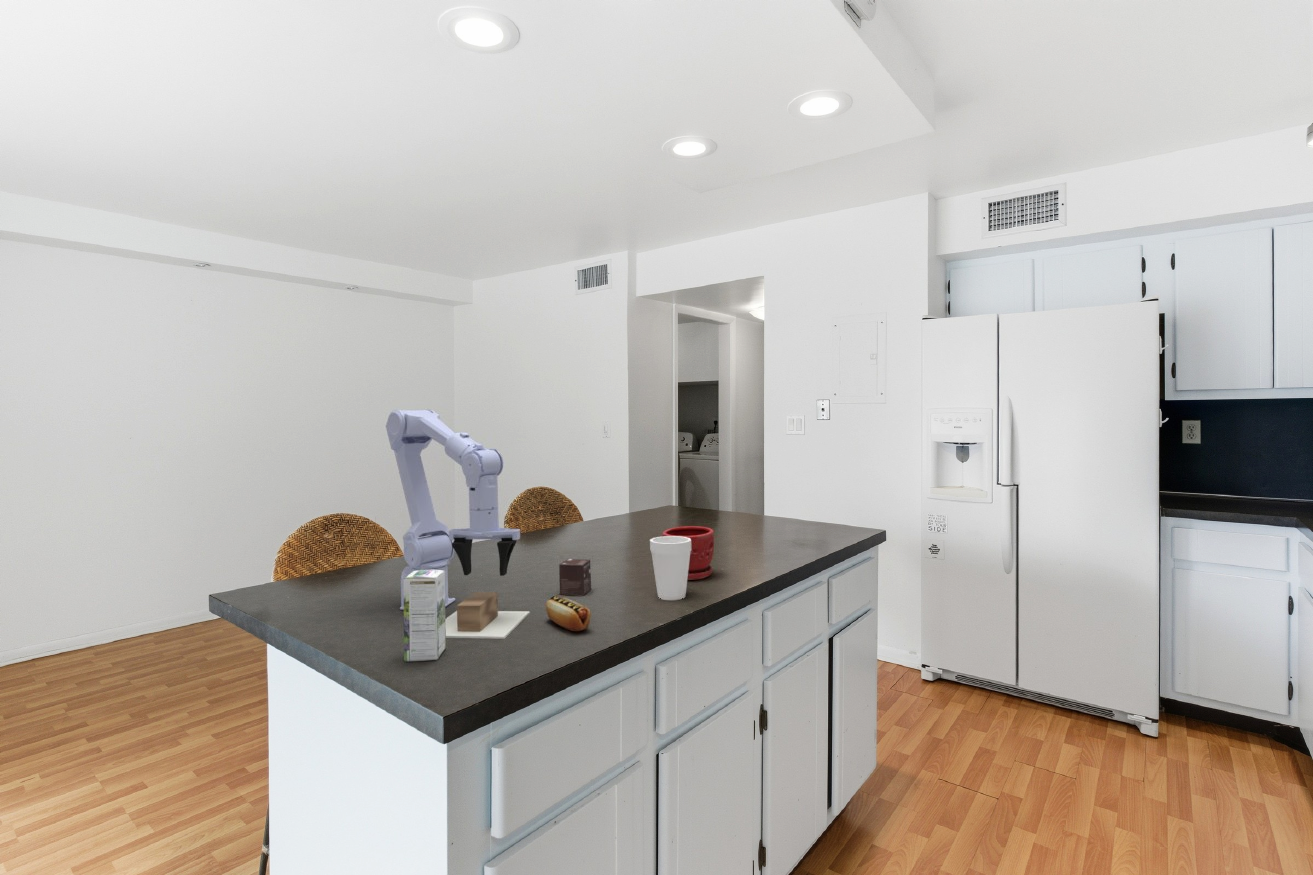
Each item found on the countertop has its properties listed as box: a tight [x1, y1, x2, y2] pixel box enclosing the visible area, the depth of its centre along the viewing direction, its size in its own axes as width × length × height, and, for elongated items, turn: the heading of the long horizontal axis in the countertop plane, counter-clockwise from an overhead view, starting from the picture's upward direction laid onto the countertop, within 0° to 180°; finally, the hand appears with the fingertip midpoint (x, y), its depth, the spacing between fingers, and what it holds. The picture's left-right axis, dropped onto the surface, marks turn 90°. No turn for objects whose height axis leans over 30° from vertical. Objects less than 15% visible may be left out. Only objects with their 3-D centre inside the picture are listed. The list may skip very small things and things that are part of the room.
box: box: [558, 558, 592, 597], centre depth 154 cm, size 6×6×7 cm
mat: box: [445, 610, 531, 640], centre depth 131 cm, size 16×16×1 cm
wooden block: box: [456, 591, 499, 632], centre depth 130 cm, size 10×4×5 cm, turn 174°
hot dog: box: [545, 595, 592, 632], centre depth 129 cm, size 5×13×5 cm, turn 36°
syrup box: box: [403, 570, 447, 662], centre depth 114 cm, size 6×6×14 cm
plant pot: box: [662, 525, 715, 581], centre depth 167 cm, size 13×13×12 cm
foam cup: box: [649, 536, 691, 601], centre depth 148 cm, size 10×9×13 cm
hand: (485, 574), depth 134 cm, fingers open, 7 cm apart
